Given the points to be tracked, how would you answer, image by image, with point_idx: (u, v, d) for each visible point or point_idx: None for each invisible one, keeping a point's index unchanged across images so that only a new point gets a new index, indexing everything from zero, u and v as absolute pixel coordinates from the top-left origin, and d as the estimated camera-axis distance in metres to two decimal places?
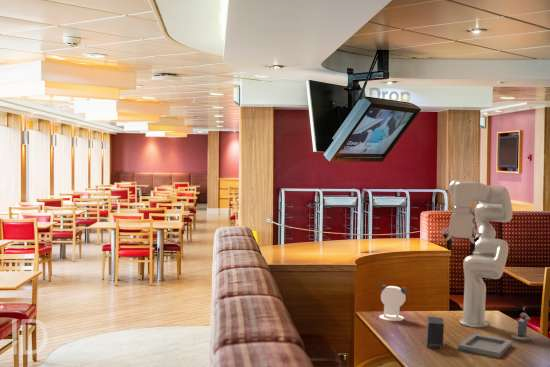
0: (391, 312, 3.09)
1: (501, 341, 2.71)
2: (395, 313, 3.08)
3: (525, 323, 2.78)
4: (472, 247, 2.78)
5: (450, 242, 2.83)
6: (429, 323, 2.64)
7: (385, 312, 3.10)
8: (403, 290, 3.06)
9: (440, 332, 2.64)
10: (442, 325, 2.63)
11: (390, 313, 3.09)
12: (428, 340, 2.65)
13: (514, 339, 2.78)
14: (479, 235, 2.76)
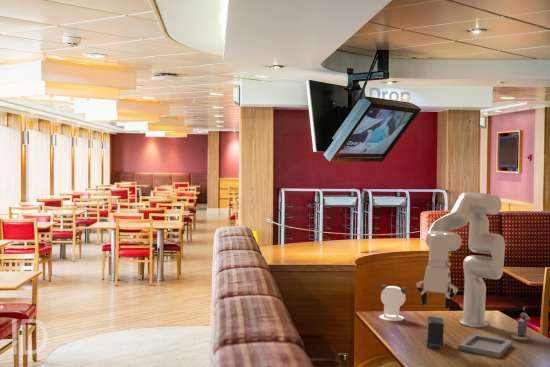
0: (391, 312, 3.09)
1: (501, 341, 2.71)
2: (395, 313, 3.08)
3: (525, 323, 2.78)
4: (448, 303, 2.64)
5: (425, 296, 2.70)
6: (429, 323, 2.64)
7: (385, 312, 3.10)
8: (403, 290, 3.06)
9: (440, 332, 2.64)
10: (442, 325, 2.63)
11: (390, 313, 3.09)
12: (428, 340, 2.65)
13: (514, 339, 2.78)
14: (455, 290, 2.63)
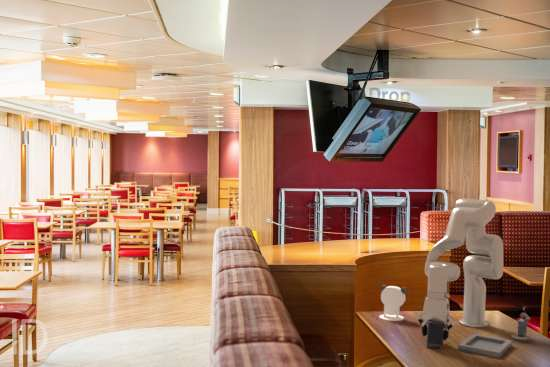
0: (391, 312, 3.09)
1: (501, 341, 2.71)
2: (395, 313, 3.08)
3: (525, 323, 2.78)
4: (445, 334, 2.66)
5: (425, 328, 2.71)
6: (429, 323, 2.64)
7: (385, 312, 3.10)
8: (403, 290, 3.06)
9: (440, 332, 2.64)
10: (442, 325, 2.63)
11: (390, 313, 3.09)
12: (428, 340, 2.65)
13: (514, 339, 2.78)
14: (453, 323, 2.64)
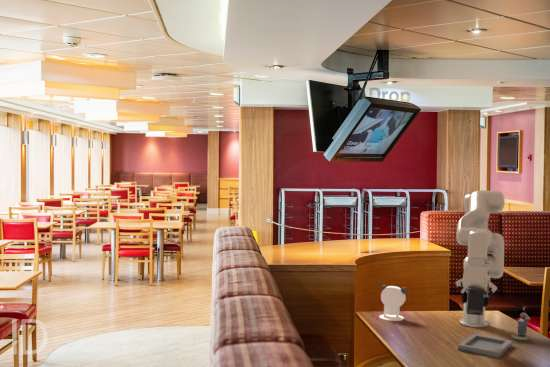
0: (391, 312, 3.09)
1: (501, 341, 2.71)
2: (395, 313, 3.08)
3: (525, 323, 2.78)
4: (486, 301, 2.63)
5: (465, 295, 2.69)
6: (469, 289, 2.62)
7: (385, 312, 3.10)
8: (403, 290, 3.06)
9: (480, 298, 2.61)
10: (482, 291, 2.61)
11: (390, 313, 3.09)
12: (468, 306, 2.62)
13: (514, 339, 2.78)
14: (494, 289, 2.61)
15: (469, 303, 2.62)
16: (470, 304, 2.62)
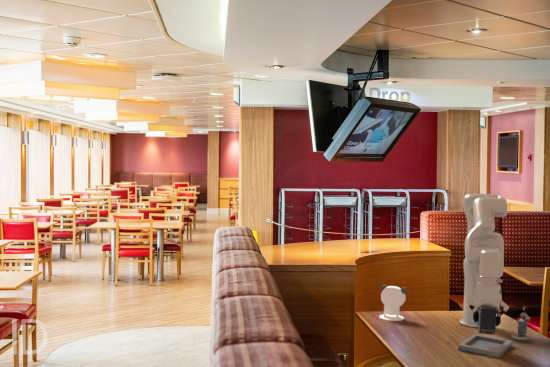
0: (391, 312, 3.09)
1: (501, 341, 2.71)
2: (395, 313, 3.08)
3: (525, 323, 2.78)
4: (498, 320, 2.63)
5: (477, 314, 2.68)
6: (481, 308, 2.62)
7: (385, 312, 3.10)
8: (403, 290, 3.06)
9: (493, 317, 2.61)
10: (495, 310, 2.60)
11: (390, 313, 3.09)
12: (480, 326, 2.62)
13: (514, 339, 2.78)
14: (506, 308, 2.61)
15: (481, 322, 2.62)
16: (482, 323, 2.62)
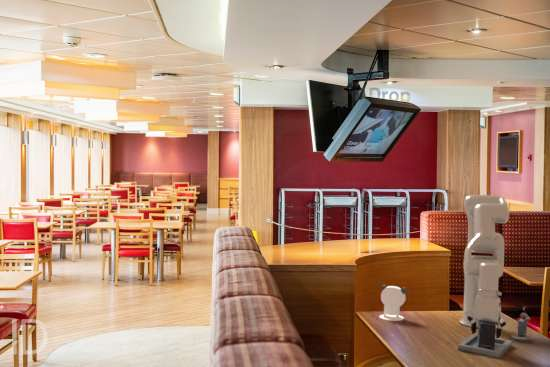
0: (391, 312, 3.09)
1: (501, 341, 2.71)
2: (395, 313, 3.08)
3: (525, 323, 2.78)
4: None
5: (475, 325, 2.69)
6: (481, 324, 2.62)
7: (385, 312, 3.10)
8: (403, 290, 3.06)
9: (492, 333, 2.61)
10: (494, 326, 2.61)
11: (390, 313, 3.09)
12: (480, 341, 2.63)
13: (514, 339, 2.78)
14: (506, 320, 2.61)
15: (480, 338, 2.62)
16: (481, 339, 2.62)
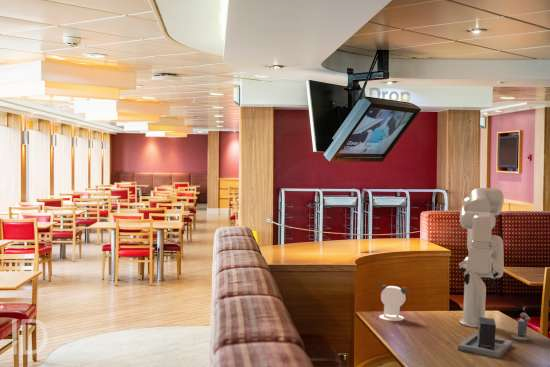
0: (391, 312, 3.09)
1: (501, 341, 2.71)
2: (395, 313, 3.08)
3: (525, 323, 2.78)
4: (491, 282, 2.69)
5: (468, 276, 2.75)
6: (481, 324, 2.62)
7: (385, 312, 3.10)
8: (403, 290, 3.06)
9: (492, 333, 2.61)
10: (494, 326, 2.61)
11: (390, 313, 3.09)
12: (480, 341, 2.63)
13: (514, 339, 2.78)
14: (499, 270, 2.67)
15: (480, 338, 2.62)
16: (481, 339, 2.62)
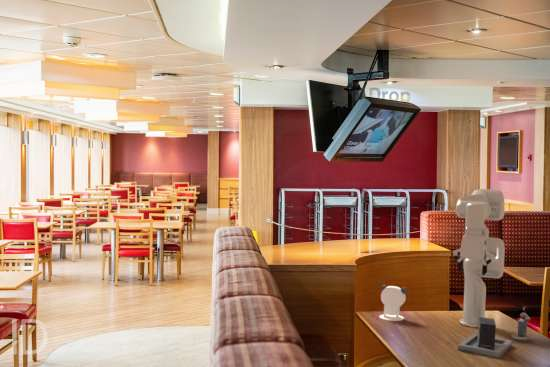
0: (391, 312, 3.09)
1: (501, 341, 2.71)
2: (395, 313, 3.08)
3: (525, 323, 2.78)
4: (484, 269, 2.73)
5: (462, 264, 2.79)
6: (481, 324, 2.62)
7: (385, 312, 3.10)
8: (403, 290, 3.06)
9: (492, 333, 2.61)
10: (494, 326, 2.61)
11: (390, 313, 3.09)
12: (480, 341, 2.63)
13: (514, 339, 2.78)
14: (491, 257, 2.72)
15: (480, 338, 2.62)
16: (481, 339, 2.62)
